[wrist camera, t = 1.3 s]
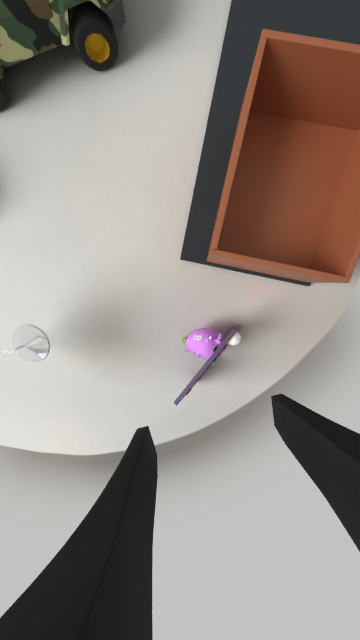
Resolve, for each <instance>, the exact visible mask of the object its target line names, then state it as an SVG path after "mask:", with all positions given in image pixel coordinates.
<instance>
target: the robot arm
mask: <svg viewBox="0 0 360 640" xmlns="http://www.w3.org/2000/svg"><path fill="white" fill-rule="evenodd" d="M271 398H272V407H273V415H274V425H275V427H276V429H277V431H278V432H279V434H280V436H281V437H282V439H283V441H284V442H285V444H286V445H287V447H288V448H289V449H290V450H291V452H292V453H293V455H294V456H295V457H296V459H297V460H298V462H299V463H300V464H301V465H302V467H303V468H304V469H305V471H306V472H307V473H308V475H309V476H310V477H311V479H312V480H313V481H314V483H315V484H316V485H317V487H318V488H319V489H320V491H321V492H322V494H323V495H324V497H325V498H326V499H327V501H328V502H329V504H330V505H331V507H332V508H333V510H334V511H335V513H336V515H337V516H338V518H339V519H340V521H341V523H342V524H343V526H344V527H345V529H346V530H347V532H348V534H349V535H350V537H351V538H352V540H353V542H354V543H355V545H356V546H357V548H358V550H359V551H360V434H359V433H356V432H354V431H352V430H350V429H348V428H346V427H344V426H341V425H339V424H337V423H335V422H333V421H331V420H329V419H327V418H325V417H323V416H321V415H319V414H318V413H316V412H314V411H312V410H310V409H308V408H306V407H305V406H303V405H301V404H299V403H297V402H296V401H294V400H292V399H290V398H289V397H287V396H285V395H283V394H279V395H274V396H272V397H271ZM156 488H157V453H156V450H155V446H154V443H153V440H152V437H151V433H150V430H149V427H148V426H146V427H142V428H138V429H137V430H136V432H135V434H134V436H133V438H132V440H131V442H130V444H129V446H128V448H127V450H126V452H125V454H124V456H123V458H122V459H121V461H120V463H119V465H118V467H117V468H116V470H115V472H114V474H113V475H112V477H111V479H110V480H109V482H108V484H107V485H106V487H105V489H104V490H103V492H102V493H101V495H100V496H99V498H98V500H97V501H96V502H95V504H94V506H93V507H92V508H91V510H90V511H89V513H88V514H87V515H86V517H85V518H84V520H83V521H82V522H81V524H80V525H79V526H78V528H77V529H76V531H74V533H73V534H72V535H71V537H70V538H69V539H68V541H67V542H66V544H65V545H64V546H63V547H62V548H61V550H60V551H59V552H58V553H57V554H56V556H55V557H54V558H53V559H52V560H51V562H50V563H49V564H48V565H47V566H46V568H45V569H44V570H43V571H42V572H41V573H40V575H39V576H38V577H37V578H36V579H35V580H34V582H33V583H32V584H31V585H30V586H29V587H28V588H27V589H26V590H25V592H24V593H23V594H22V595H21V596H20V597H19V598H18V599H17V600H16V602H15V603H14V604H13V605H12V606H11V607H10V608H9V609H8V610H7V611H6V612H5V613H4V615H3V616H2V617H1V618H0V640H152V544H153V527H154V515H155V502H156Z"/></svg>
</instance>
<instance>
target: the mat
mask: <svg viewBox="0 0 360 640" xmlns="http://www.w3.org/2000/svg"><path fill="white" fill-rule="evenodd" d="M263 29H268V30H274V31H280V32H286V33H292V34H298V35H304V36H310V37H316V38H322V39H328V40H334V41H340V42H346V43H352V44H358V45H360V0H232V2H231V7H230V12H229V17H228V22H227V27H226V32H225V37H224V42H223V47H222V52H221V57H220V62H219V67H218V72H217V78H216V83H215V88H214V93H213V98H212V103H211V108H210V113H209V118H208V123H207V128H206V133H205V138H204V143H203V148H202V153H201V158H200V163H199V168H198V173H197V178H196V183H195V188H194V193H193V198H192V203H191V208H190V213H189V218H188V223H187V228H186V233H185V238H184V243H183V248H182V253H181V258H180V259H181V260H186V261H191V262H195V263H200V264H205V265H210V266H214V267H219V268H224V269H229V270H234V271H238V272H243V273H248V274H253V275H257V276H262V277H267V278H272V279H276V280H281V281H286V282H291V283H296V284H300V285H305V286H310V283H311V282H302V281H298V280H293V279H288V278H283V277H279V276H274V275H269V274H264V273H259V272H255V271H250V270H245V269H240V268H236V267H231V266H226V265H221V264H216V263H212V262H207V256H208V252H209V248H210V243H211V239H212V235H213V230H214V226H215V221H216V217H217V213H218V208H219V204H220V199H221V195H222V191H223V186H224V182H225V178H226V173H227V169H228V164H229V160H230V156H231V151H232V147H233V143H234V138H235V134H236V129H237V125H238V121H239V116H240V112H241V108H242V104H243V100H244V96H245V93H246V89H247V85H248V82H249V78H250V74H251V70H252V67H253V63H254V59H255V56H256V52H257V48H258V44H259V41H260V37H261V33H262V30H263Z"/></svg>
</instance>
